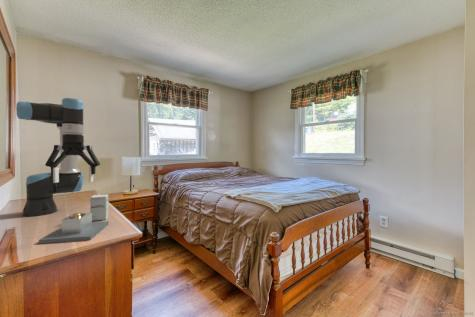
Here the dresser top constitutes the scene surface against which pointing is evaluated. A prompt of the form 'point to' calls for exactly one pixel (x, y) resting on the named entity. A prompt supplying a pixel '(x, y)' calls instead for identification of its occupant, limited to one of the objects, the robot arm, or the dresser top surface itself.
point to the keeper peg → (77, 215)
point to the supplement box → (99, 207)
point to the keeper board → (74, 234)
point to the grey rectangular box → (76, 223)
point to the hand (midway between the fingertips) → (73, 182)
